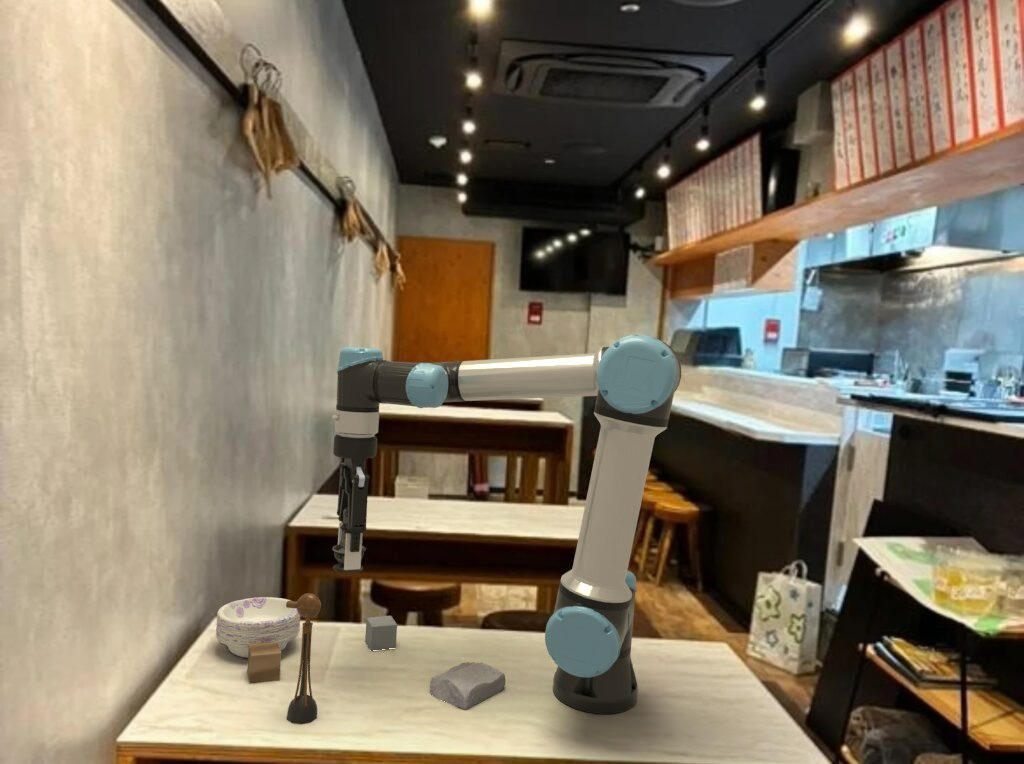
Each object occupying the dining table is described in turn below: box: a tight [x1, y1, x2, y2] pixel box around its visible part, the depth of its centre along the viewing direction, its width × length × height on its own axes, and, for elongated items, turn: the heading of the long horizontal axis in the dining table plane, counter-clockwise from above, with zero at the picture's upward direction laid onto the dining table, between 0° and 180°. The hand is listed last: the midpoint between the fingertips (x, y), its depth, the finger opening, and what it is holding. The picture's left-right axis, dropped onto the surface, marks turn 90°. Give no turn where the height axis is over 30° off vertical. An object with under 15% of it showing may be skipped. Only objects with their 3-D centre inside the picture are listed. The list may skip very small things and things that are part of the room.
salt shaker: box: [332, 507, 367, 574], centre depth 132 cm, size 6×6×12 cm
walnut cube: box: [246, 642, 282, 684], centre depth 131 cm, size 5×5×5 cm
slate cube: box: [364, 615, 398, 652], centre depth 148 cm, size 5×5×5 cm
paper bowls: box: [215, 596, 301, 659], centre depth 142 cm, size 15×15×8 cm
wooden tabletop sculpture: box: [286, 593, 322, 725], centre depth 118 cm, size 6×5×20 cm
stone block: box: [429, 661, 506, 711], centre depth 131 cm, size 12×5×10 cm
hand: (348, 563), depth 132 cm, fingers closed on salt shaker, 6 cm apart
